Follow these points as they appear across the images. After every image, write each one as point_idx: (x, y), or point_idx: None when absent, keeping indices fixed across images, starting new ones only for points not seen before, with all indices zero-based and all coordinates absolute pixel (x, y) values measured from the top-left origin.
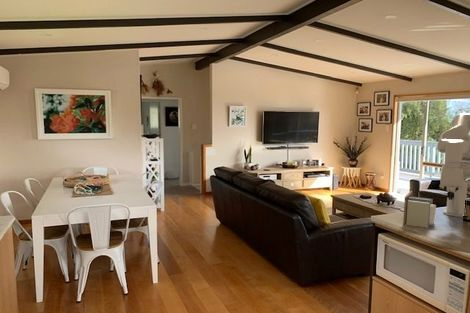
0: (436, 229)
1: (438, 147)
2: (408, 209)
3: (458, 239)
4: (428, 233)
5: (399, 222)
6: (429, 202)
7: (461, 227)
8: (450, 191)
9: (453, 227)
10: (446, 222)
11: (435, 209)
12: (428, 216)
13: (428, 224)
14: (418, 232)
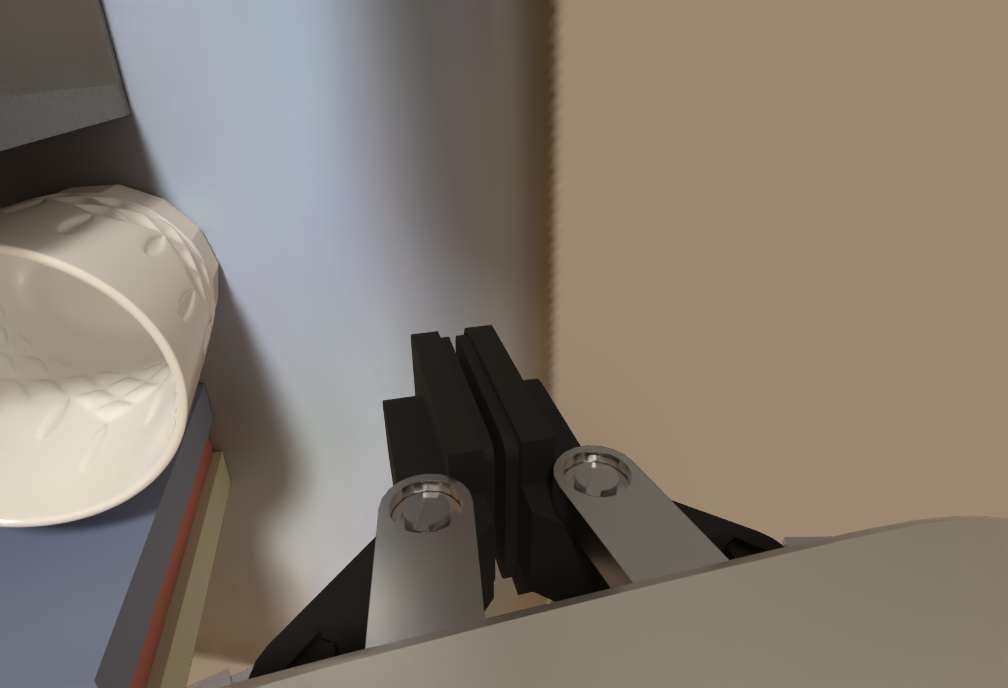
0: (316, 462)
1: None
2: None
3: (509, 580)
4: (293, 610)
5: None
6: (122, 685)
7: (518, 212)
8: (480, 441)
9: (446, 272)
10: (339, 71)
11: (196, 357)
12: (205, 567)
13: (209, 429)
14: (216, 644)
